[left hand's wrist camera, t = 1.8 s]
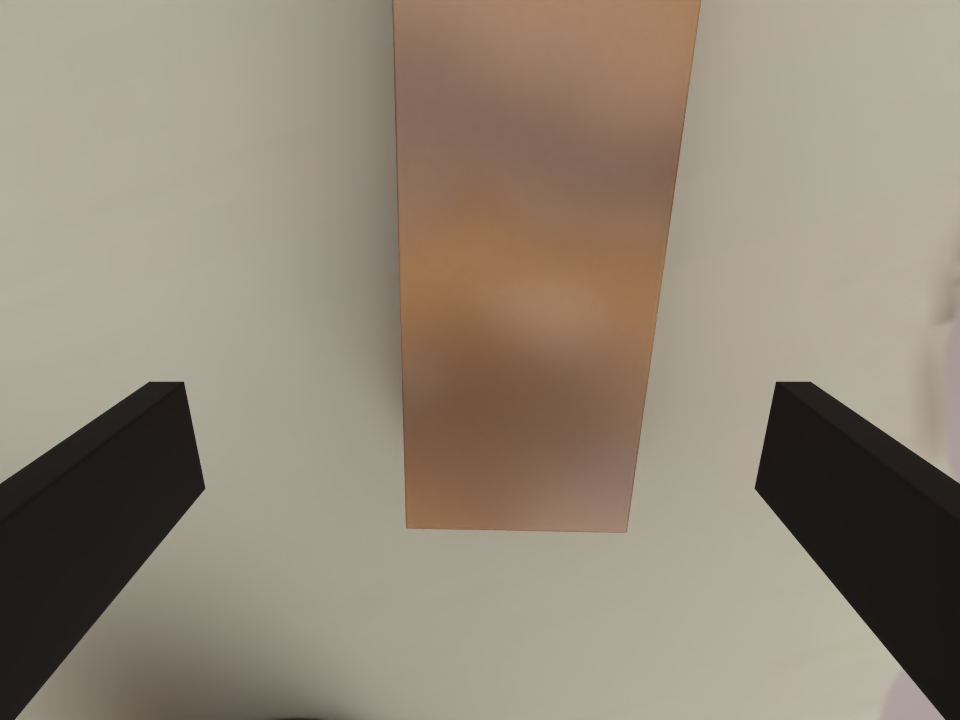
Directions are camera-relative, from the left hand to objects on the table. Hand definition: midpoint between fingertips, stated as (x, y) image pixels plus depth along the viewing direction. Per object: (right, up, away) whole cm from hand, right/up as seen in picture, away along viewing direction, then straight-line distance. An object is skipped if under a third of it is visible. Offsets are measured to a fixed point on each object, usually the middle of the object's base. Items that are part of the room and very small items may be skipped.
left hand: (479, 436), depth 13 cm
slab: (+2, +35, +1) cm, 36 cm away
